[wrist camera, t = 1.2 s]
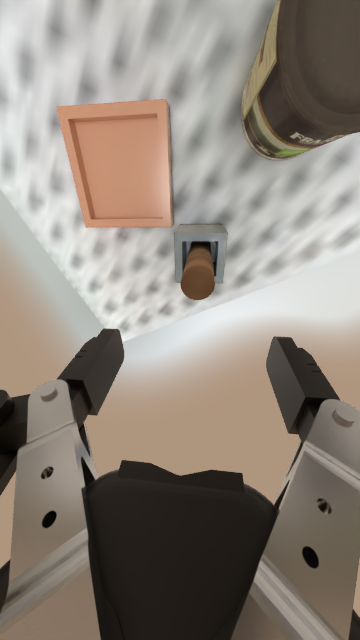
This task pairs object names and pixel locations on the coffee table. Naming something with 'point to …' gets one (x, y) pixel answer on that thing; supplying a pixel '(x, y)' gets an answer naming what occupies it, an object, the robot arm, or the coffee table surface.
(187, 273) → the dowel
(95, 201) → the tray
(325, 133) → the coffee can
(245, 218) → the coffee table surface
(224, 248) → the holder
